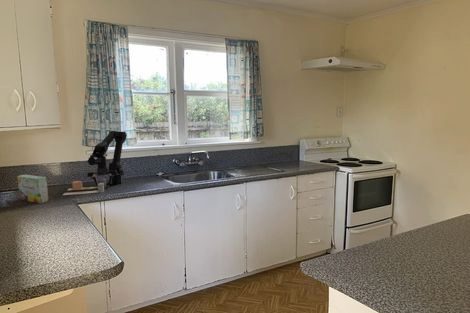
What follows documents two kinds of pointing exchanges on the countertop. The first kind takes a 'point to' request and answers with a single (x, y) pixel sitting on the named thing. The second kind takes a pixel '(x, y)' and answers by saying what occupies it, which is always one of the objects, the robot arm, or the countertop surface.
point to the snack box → (33, 188)
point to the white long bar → (100, 189)
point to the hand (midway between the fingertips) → (103, 185)
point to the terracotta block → (77, 185)
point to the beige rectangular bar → (93, 187)
